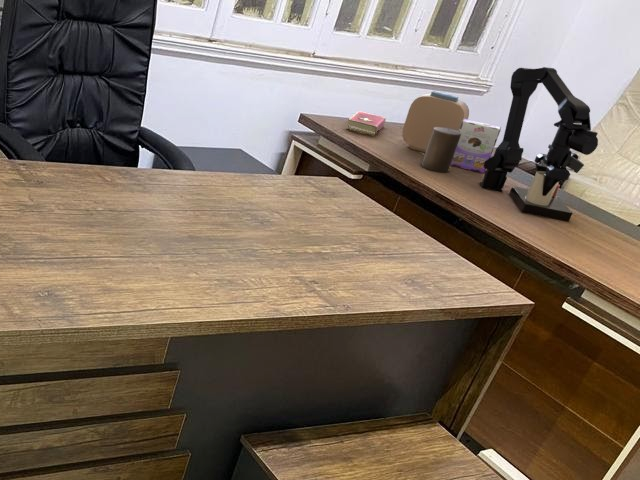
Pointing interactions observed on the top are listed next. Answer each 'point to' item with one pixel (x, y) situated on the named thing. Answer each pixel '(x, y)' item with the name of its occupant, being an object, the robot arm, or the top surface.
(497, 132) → the candy box
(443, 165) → the pillar candle
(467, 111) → the alarm clock
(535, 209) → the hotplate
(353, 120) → the hardcover book
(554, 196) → the red cube
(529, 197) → the cup
